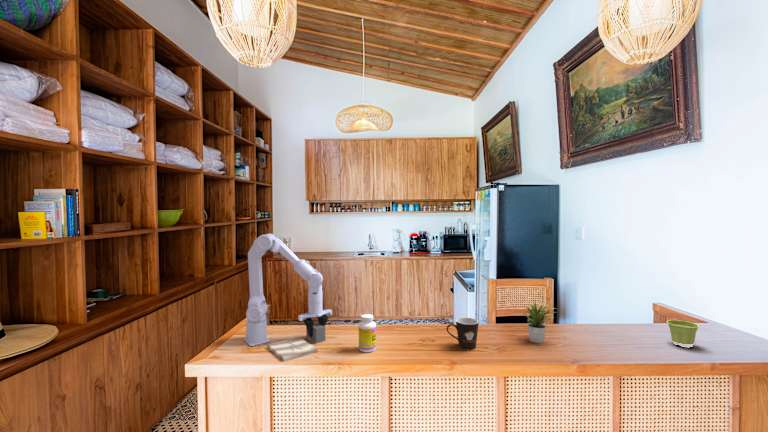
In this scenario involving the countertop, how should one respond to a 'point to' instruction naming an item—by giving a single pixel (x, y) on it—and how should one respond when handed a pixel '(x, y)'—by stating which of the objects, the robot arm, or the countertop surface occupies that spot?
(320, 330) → the block
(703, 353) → the countertop surface
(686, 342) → the plant pot
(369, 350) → the supplement bottle
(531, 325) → the house plant
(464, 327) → the coffee mug
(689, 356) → the countertop surface
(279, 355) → the ash board
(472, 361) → the countertop surface
